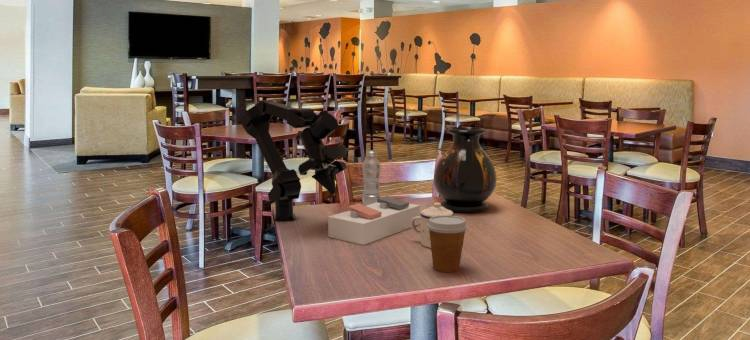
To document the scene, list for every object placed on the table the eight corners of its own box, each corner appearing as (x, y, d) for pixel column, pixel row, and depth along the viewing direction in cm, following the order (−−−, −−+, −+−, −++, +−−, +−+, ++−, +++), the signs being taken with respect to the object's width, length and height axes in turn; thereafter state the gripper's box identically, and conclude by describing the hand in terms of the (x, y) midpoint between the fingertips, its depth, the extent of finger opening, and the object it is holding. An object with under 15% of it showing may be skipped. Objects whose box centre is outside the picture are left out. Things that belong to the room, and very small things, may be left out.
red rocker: (347, 210, 164) (348, 206, 163) (358, 207, 167) (358, 203, 167) (370, 219, 159) (371, 215, 158) (381, 216, 163) (381, 212, 162)
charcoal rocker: (376, 202, 175) (377, 198, 174) (386, 199, 178) (387, 195, 178) (399, 209, 170) (399, 205, 169) (408, 206, 174) (409, 202, 173)
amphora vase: (501, 215, 188) (504, 131, 184) (436, 215, 189) (437, 131, 184) (489, 201, 209) (491, 125, 205) (430, 201, 210) (432, 125, 205)
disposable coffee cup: (423, 261, 142) (424, 215, 140) (460, 261, 143) (462, 214, 141) (430, 275, 132) (431, 225, 130) (470, 274, 133) (471, 224, 131)
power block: (328, 236, 163) (328, 211, 162) (386, 217, 185) (386, 194, 184) (363, 245, 156) (363, 218, 154) (419, 224, 177) (419, 200, 176)
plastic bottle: (379, 209, 196) (379, 152, 193) (360, 208, 197) (360, 151, 194) (382, 205, 202) (383, 150, 199) (364, 204, 204) (364, 149, 200)
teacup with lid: (457, 242, 159) (458, 201, 157) (447, 251, 151) (448, 208, 149) (416, 236, 164) (417, 197, 162) (405, 245, 156) (405, 203, 154)
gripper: (319, 130, 158) (340, 181, 155) (350, 136, 175) (370, 182, 171) (288, 149, 162) (308, 198, 159) (322, 153, 179) (341, 198, 176)
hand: (333, 193), depth 166 cm, fingers closed
